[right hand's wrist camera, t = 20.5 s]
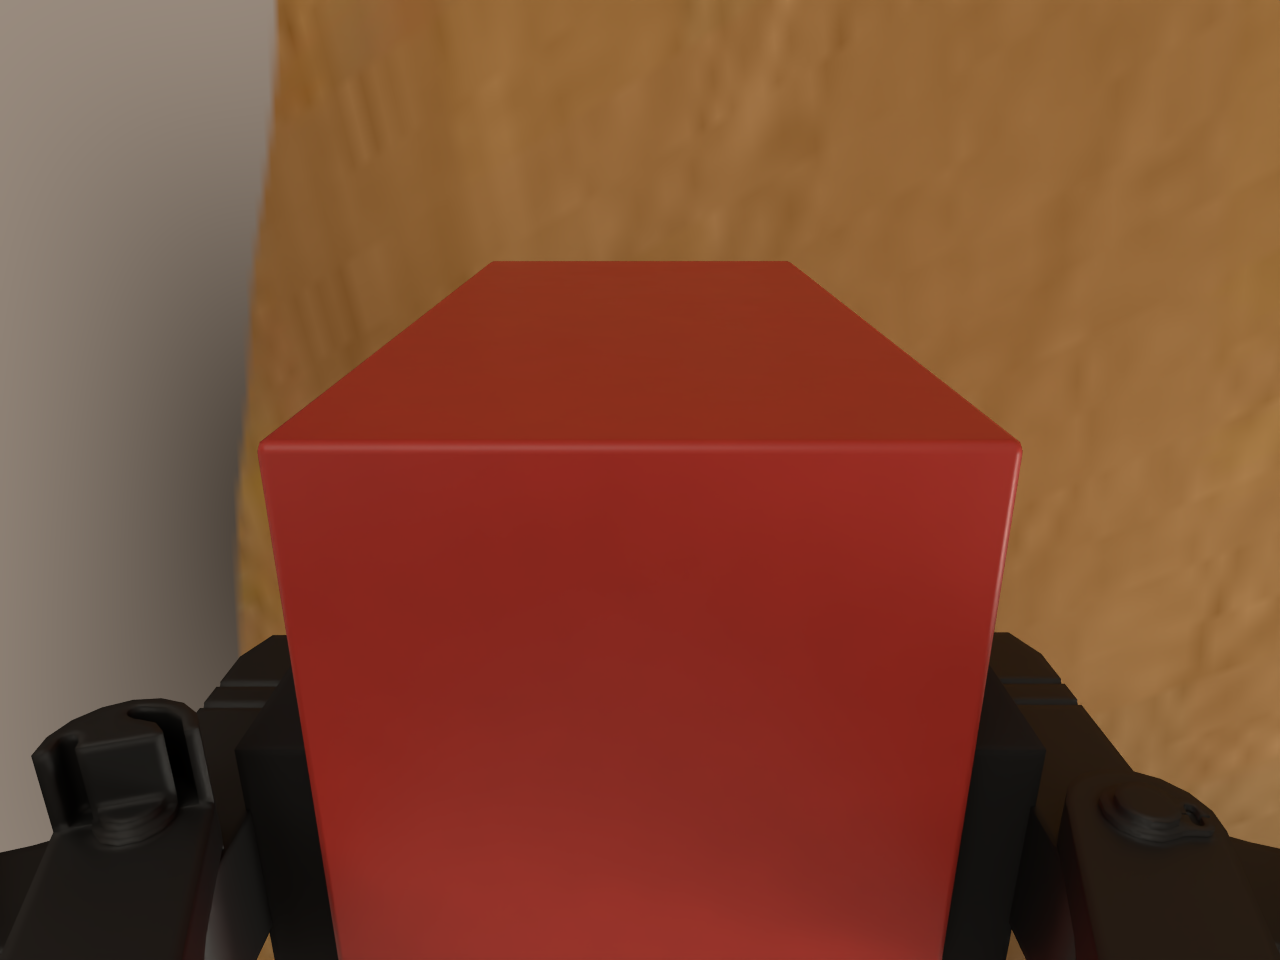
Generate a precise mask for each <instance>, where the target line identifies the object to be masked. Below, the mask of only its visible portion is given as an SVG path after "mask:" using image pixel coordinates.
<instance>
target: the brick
mask: <svg viewBox="0 0 1280 960" xmlns="http://www.w3.org/2000/svg"><path fill="white" fill-rule="evenodd" d="M258 458H259V465H260V471H261V477H262V483H263V490H264V496H265V502H266V508H267V515H268V521H269V527H270V534H271V540H272V546H273V552H274V559H275V565H276V571H277V577H278V584H279V590H280V596H281V602H282V609H283V615H284V621H285V628H286V634H287V640H288V646H289V653H290V659H291V665H292V671H293V678H294V684H295V690H296V696H297V703H298V709H299V715H300V722H301V728H302V734H303V740H304V747H305V753H306V759H307V765H308V772H309V778H310V784H311V791H312V797H313V803H314V809H315V816H316V822H317V828H318V834H319V841H320V847H321V853H322V859H323V866H324V872H325V878H326V885H327V891H328V897H329V903H330V910H331V916H332V922H333V928H334V935H335V941H336V947H337V953H338V960H942V955H943V949H944V943H945V937H946V930H947V924H948V918H949V911H950V905H951V899H952V893H953V886H954V880H955V874H956V867H957V861H958V855H959V849H960V842H961V836H962V830H963V823H964V817H965V811H966V805H967V798H968V792H969V786H970V779H971V773H972V767H973V760H974V754H975V748H976V742H977V735H978V729H979V723H980V716H981V710H982V704H983V698H984V691H985V685H986V679H987V672H988V666H989V660H990V654H991V647H992V641H993V635H994V628H995V622H996V616H997V610H998V603H999V597H1000V591H1001V584H1002V578H1003V572H1004V566H1005V559H1006V553H1007V547H1008V540H1009V534H1010V528H1011V521H1012V515H1013V509H1014V503H1015V496H1016V490H1017V484H1018V477H1019V471H1020V465H1021V459H1022V447H1021V444H1020V442H1019V441H1018V440H1017V439H1015V438H1014V437H1013V436H1011V435H1010V434H1009V433H1008V432H1006V431H1005V430H1004V429H1002V428H1001V427H1000V426H999V425H997V424H996V423H995V422H994V421H992V420H991V419H990V418H988V417H987V416H986V415H985V414H983V413H982V412H981V411H979V410H978V409H977V408H976V407H974V406H973V405H972V404H971V403H969V402H968V401H967V400H965V399H964V398H963V397H962V396H960V395H959V394H958V393H956V392H955V391H954V390H953V389H951V388H950V387H949V386H948V385H946V384H945V383H944V382H942V381H941V380H940V379H939V378H937V377H936V376H935V375H933V374H932V373H931V372H930V371H928V370H927V369H926V368H925V367H923V366H922V365H921V364H919V363H918V362H917V361H916V360H914V359H913V358H912V357H910V356H909V355H908V354H907V353H905V352H904V351H903V350H902V349H900V348H899V347H898V346H896V345H895V344H894V343H893V342H891V341H890V340H889V339H887V338H886V337H885V336H884V335H882V334H881V333H880V332H879V331H877V330H876V329H875V328H873V327H872V326H871V325H870V324H868V323H867V322H866V321H864V320H863V319H862V318H861V317H859V316H858V315H857V314H856V313H854V312H853V311H852V310H850V309H849V308H848V307H847V306H845V305H844V304H843V303H841V302H840V301H839V300H838V299H836V298H835V297H834V296H833V295H831V294H830V293H829V292H827V291H826V290H825V289H824V288H822V287H821V286H820V285H818V284H817V283H816V282H815V281H813V280H812V279H811V278H810V277H808V276H807V275H806V274H804V273H803V272H802V271H801V270H799V269H798V268H797V267H795V266H794V265H793V264H792V263H790V262H788V261H494V262H491V263H490V264H488V265H487V266H486V267H485V268H483V269H482V270H481V271H479V272H478V273H477V274H476V275H474V276H473V277H472V278H470V279H469V280H468V281H467V282H465V283H464V284H463V285H461V286H460V287H459V288H458V289H456V290H455V291H454V292H452V293H451V294H450V295H449V296H447V297H446V298H445V299H443V300H442V301H441V302H440V303H438V304H437V305H436V306H434V307H433V308H432V309H431V310H429V311H428V312H427V313H425V314H424V315H423V316H422V317H420V318H419V319H418V320H416V321H415V322H414V323H413V324H411V325H410V326H409V327H407V328H406V329H405V330H404V331H402V332H401V333H400V334H398V335H397V336H396V337H395V338H393V339H392V340H391V341H389V342H388V343H387V344H386V345H384V346H383V347H382V348H380V349H379V350H378V351H377V352H375V353H374V354H373V355H371V356H370V357H369V358H368V359H366V360H365V361H364V362H362V363H361V364H360V365H359V366H357V367H356V368H355V369H353V370H352V371H351V372H350V373H348V374H347V375H346V376H344V377H343V378H342V379H341V380H339V381H338V382H337V383H335V384H334V385H333V386H332V387H330V388H329V389H328V390H326V391H325V392H324V393H323V394H321V395H320V396H319V397H317V398H316V399H315V400H314V401H312V402H311V403H310V404H308V405H307V406H306V407H305V408H303V409H302V410H301V411H299V412H298V413H297V414H296V415H294V416H293V417H292V418H290V419H289V420H288V421H287V422H285V423H284V424H283V425H281V426H280V427H279V428H278V429H276V430H275V431H274V432H272V433H271V434H270V435H269V436H267V437H266V438H265V439H263V440H262V441H261V442H260V444H259V448H258Z"/></svg>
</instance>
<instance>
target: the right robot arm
mask: <svg viewBox="0 0 1280 960" xmlns="http://www.w3.org/2000/svg"><path fill="white" fill-rule="evenodd" d="M31 757H32V760H33V764H34V767H35V770H36V774H37V777H38V781H39V784H40V788H41V791H42V794H43V798H44V801H45V805H46V808H47V812H48V815H49V819H50V822H51V825H52V829H53V835H52V837H51V839H50V841H47V842H44V843H40V844H37V845H33V846H29V847H25V848H20V849H15V850H10V851H6V852H1V853H0V960H257V958H258V956H259V953H260V951H261V949H262V947H263V945H264V943H265V941H266V939H267V936H268V934H269V932H270V937H271V942H272V947H273V953H274V958H275V960H338V953H337V947H336V941H335V935H334V928H333V922H332V916H331V910H330V903H329V897H328V891H327V885H326V878H325V872H324V866H323V859H322V853H321V847H320V841H319V834H318V828H317V822H316V816H315V809H314V803H313V797H312V791H311V784H310V778H309V772H308V765H307V759H306V753H305V747H304V740H303V734H302V728H301V722H300V715H299V709H298V703H297V696H296V690H295V684H294V678H293V671H292V665H291V659H290V653H289V646H288V640H287V635H272V636H271V637H269V638H268V639H266V640H265V641H263V642H262V643H260V644H259V645H257V646H256V647H254V648H253V649H251V650H250V651H248V652H247V653H245V654H244V655H242V656H240V657H239V659H238V660H237V661H236V663H235V664H234V665H233V666H232V668H231V669H230V670H229V672H228V673H227V674H226V675H225V677H224V678H223V679H222V681H221V684H220V687H216V688H215V690H214V691H213V692H212V693H211V695H210V696H209V697H208V698H207V700H206V701H205V702H204V708H200V709H199V710H198V711H197V713H196V712H195V711H193V710H192V709H191V708H190V707H188V706H187V705H186V704H184V703H182V702H176V701H172V700H167V699H162V698H159V699H142V700H131V701H127V702H123V703H119V704H115V705H110V706H106V707H102V708H100V709H97V710H95V711H93V712H90V713H88V714H86V715H83V716H81V717H79V718H76V719H74V720H72V721H70V722H69V723H67V724H66V725H64V726H63V727H61V728H60V729H58V730H57V731H55V732H54V733H52V734H51V735H49V736H48V737H47V738H46V739H45V740H44V741H43V742H42V744H41V745H40V746H39V747H38V748H37V750H36V751H35V752H34V753H33V754H32V756H31ZM1011 930H1012V931H1013V933H1014V935H1015V937H1016V939H1017V941H1018V943H1019V945H1020V948H1021V950H1022V952H1023V954H1024V956H1025V958H1026V960H1280V849H1279V848H1274V847H1269V846H1265V845H1260V844H1255V843H1251V842H1247V841H1243V840H1240V839H1236V838H1233V837H1229V835H1228V833H1227V831H1226V829H1225V828H1224V827H1223V825H1222V824H1221V822H1220V821H1219V820H1218V818H1217V817H1216V815H1215V814H1214V813H1213V811H1212V810H1210V809H1209V808H1208V807H1207V806H1205V805H1204V804H1203V803H1201V802H1200V801H1199V800H1197V799H1196V798H1195V797H1194V796H1192V795H1191V794H1190V793H1188V792H1186V791H1184V790H1182V789H1180V788H1178V787H1176V786H1174V785H1172V784H1170V783H1168V782H1166V781H1164V780H1162V779H1159V778H1155V777H1152V776H1148V775H1145V774H1141V773H1137V772H1134V771H1133V770H1132V769H1131V768H1130V766H1129V765H1128V764H1127V762H1126V761H1125V760H1124V759H1123V757H1122V756H1121V755H1120V754H1119V752H1118V751H1117V750H1116V748H1115V747H1114V746H1113V745H1112V743H1111V742H1110V741H1109V740H1108V738H1107V737H1106V736H1105V734H1104V733H1103V732H1102V731H1101V729H1100V728H1099V727H1098V726H1097V724H1096V723H1095V722H1094V720H1093V719H1092V718H1091V717H1090V715H1089V714H1088V713H1087V712H1086V710H1085V709H1084V708H1083V706H1082V705H1078V704H1077V699H1076V698H1075V696H1074V695H1073V694H1072V692H1071V691H1070V690H1069V689H1068V687H1067V686H1066V685H1065V684H1061V678H1060V677H1059V676H1058V675H1057V673H1056V672H1055V671H1054V670H1053V668H1052V667H1051V666H1050V664H1049V663H1048V662H1047V661H1046V659H1045V658H1044V657H1043V656H1042V654H1041V653H1039V652H1037V651H1036V650H1034V649H1033V648H1031V647H1030V646H1028V645H1027V644H1025V643H1024V642H1022V641H1021V640H1019V639H1018V638H1016V637H1014V636H1013V635H1011V634H1010V633H1008V632H994V635H993V641H992V647H991V654H990V660H989V666H988V672H987V679H986V685H985V691H984V698H983V704H982V710H981V716H980V723H979V729H978V735H977V742H976V748H975V754H974V760H973V767H972V773H971V779H970V786H969V792H968V798H967V805H966V811H965V817H964V823H963V830H962V836H961V842H960V849H959V855H958V861H957V867H956V874H955V880H954V886H953V893H952V899H951V905H950V911H949V918H948V924H947V930H946V937H945V943H944V949H943V955H942V960H1006V956H1007V951H1008V946H1009V940H1010V935H1011Z"/></svg>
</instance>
